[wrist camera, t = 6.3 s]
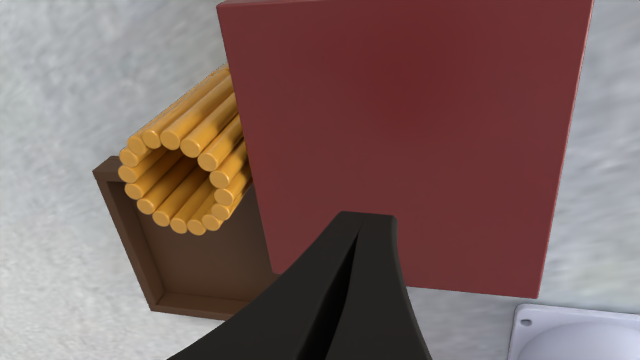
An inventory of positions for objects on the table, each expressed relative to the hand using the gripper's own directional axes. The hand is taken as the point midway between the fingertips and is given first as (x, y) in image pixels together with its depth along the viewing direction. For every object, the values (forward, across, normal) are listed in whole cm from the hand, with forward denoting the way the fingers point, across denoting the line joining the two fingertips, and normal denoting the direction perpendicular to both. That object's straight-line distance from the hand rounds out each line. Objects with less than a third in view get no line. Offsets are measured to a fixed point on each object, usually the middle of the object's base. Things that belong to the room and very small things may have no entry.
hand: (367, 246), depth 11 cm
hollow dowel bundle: (+6, +5, 0) cm, 8 cm away
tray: (+10, +10, +9) cm, 17 cm away
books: (+10, 0, 0) cm, 10 cm away
